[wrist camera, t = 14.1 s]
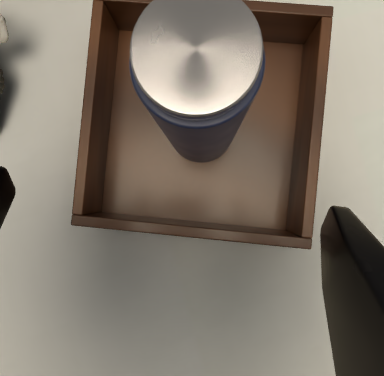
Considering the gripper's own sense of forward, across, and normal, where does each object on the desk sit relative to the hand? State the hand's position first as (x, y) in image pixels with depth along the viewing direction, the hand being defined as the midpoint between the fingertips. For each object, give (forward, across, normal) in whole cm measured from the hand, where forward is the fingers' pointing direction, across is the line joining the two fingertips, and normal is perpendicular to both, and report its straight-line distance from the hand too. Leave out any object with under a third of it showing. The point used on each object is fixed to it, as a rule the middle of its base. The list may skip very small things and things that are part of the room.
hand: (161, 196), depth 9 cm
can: (+12, 0, +6) cm, 13 cm away
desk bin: (+12, 0, +6) cm, 14 cm away
